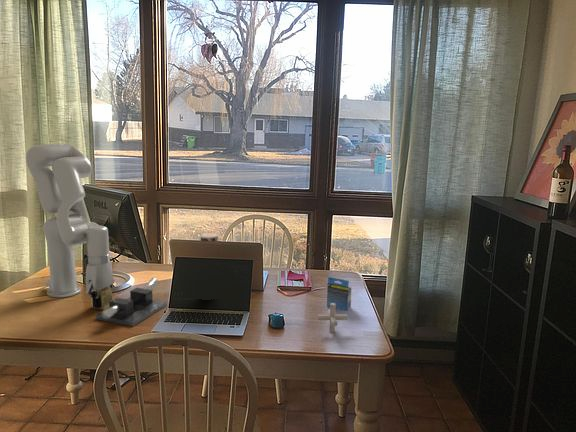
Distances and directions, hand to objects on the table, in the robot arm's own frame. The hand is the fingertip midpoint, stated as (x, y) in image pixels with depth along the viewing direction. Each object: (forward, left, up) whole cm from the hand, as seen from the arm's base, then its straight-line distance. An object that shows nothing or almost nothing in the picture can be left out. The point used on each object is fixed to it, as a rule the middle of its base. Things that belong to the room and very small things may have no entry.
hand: (101, 304), depth 180 cm
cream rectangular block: (0, 0, -1) cm, 1 cm away
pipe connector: (+87, +13, -1) cm, 88 cm away
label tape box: (+84, +35, -1) cm, 91 cm away
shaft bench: (+14, 0, -1) cm, 14 cm away
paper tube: (+31, +28, -1) cm, 42 cm away
